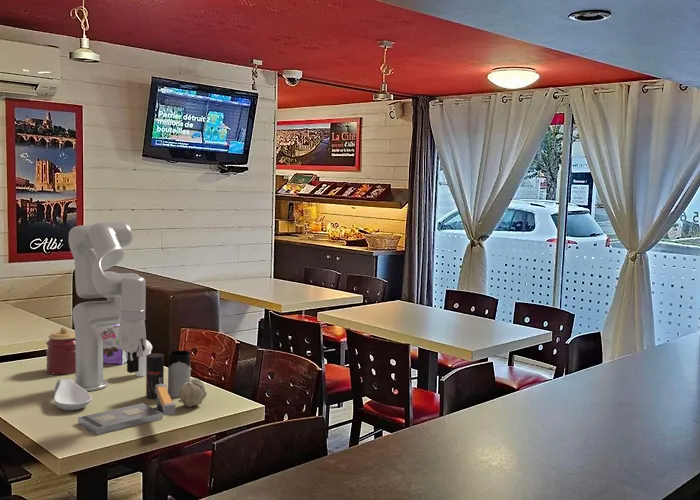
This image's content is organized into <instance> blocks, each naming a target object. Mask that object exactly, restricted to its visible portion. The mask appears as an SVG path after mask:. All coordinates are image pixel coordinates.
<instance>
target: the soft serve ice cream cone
mask: <svg viewBox="0 0 700 500" xmlns="http://www.w3.org/2000/svg"><path fill="white" fill-rule="evenodd" d="M152 350H153V345H152V344H151V342H150V341H149V340H147V339H146V349H145V351H143V356H140V359H139V371H138V372H134V373H135V376H136V377H141V378H142V377H146V355H148V354H152Z"/></svg>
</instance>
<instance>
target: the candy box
mask: <svg viewBox="0 0 700 500" xmlns="http://www.w3.org/2000/svg"><path fill="white" fill-rule="evenodd" d="M119 326H120V323H119V324H117V325H113V326H104V327H97V328H96V330H97V332H98V333H99V334H100V335H101V336H102V338H103V364H105V363H106V364H107V365H120V366H122V365H125V364H127V360H128V359H127V358H126V352H125V351H124V350H122V349H120V348H119V346H118V341H119Z"/></svg>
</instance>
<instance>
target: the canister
mask: <svg viewBox="0 0 700 500" xmlns="http://www.w3.org/2000/svg"><path fill="white" fill-rule="evenodd" d="M45 344H46V345H47V349H46V351H45V352H46V372H47V373H48V372H49V373H48V374H50V373H54V374H53V375H58V374H60V375H70V374H69V373H71V374H76V352H75V331H72V330H68V329H67V327H66V326H64V327H63V326H62V327H61V328H60V329H59V331H56V332H55V331H54V332H52V333H51V334H50V335H48V340H47V341H46V342H45Z"/></svg>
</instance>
